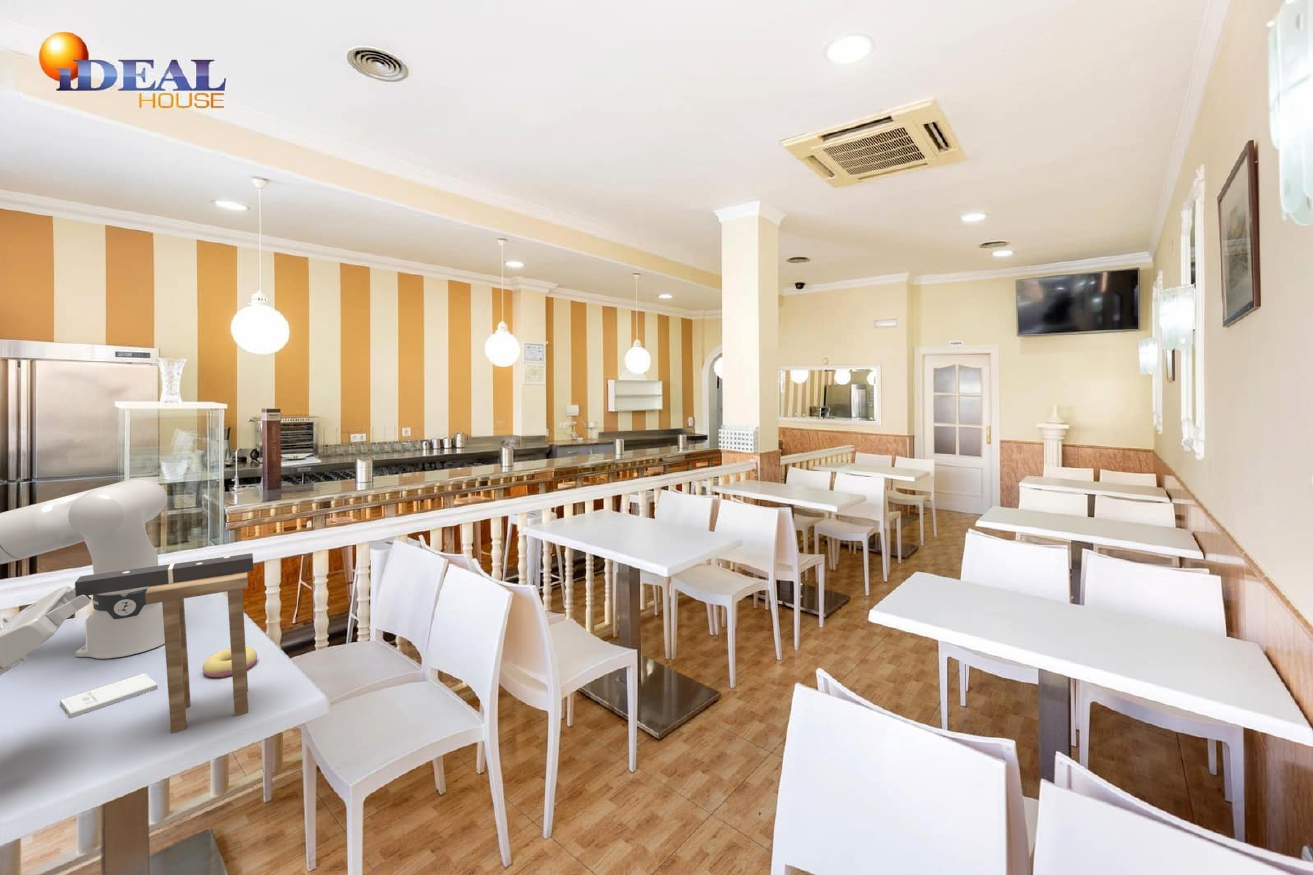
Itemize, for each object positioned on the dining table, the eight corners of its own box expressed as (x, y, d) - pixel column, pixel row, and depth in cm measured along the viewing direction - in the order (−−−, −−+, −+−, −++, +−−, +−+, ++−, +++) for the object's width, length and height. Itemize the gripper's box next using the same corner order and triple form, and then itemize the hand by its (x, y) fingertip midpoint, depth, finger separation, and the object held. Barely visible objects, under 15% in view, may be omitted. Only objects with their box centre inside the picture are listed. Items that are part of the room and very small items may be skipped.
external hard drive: (158, 691, 113) (70, 720, 103) (144, 679, 118) (60, 706, 108) (157, 683, 113) (70, 712, 103) (144, 672, 118) (59, 698, 108)
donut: (262, 666, 128) (216, 664, 126) (266, 645, 128) (220, 643, 126) (241, 681, 118) (190, 679, 116) (245, 658, 119) (195, 656, 116)
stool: (163, 707, 107) (154, 574, 105) (253, 685, 115) (247, 561, 113) (155, 739, 97) (145, 593, 95) (254, 712, 105) (247, 577, 103)
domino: (81, 590, 96) (80, 575, 96) (253, 565, 110) (252, 552, 110) (75, 597, 93) (74, 582, 93) (253, 571, 107) (252, 557, 107)
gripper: (28, 637, 98) (119, 585, 105) (-15, 687, 82) (96, 621, 88) (-1, 611, 96) (93, 560, 103) (-52, 657, 80) (64, 592, 86)
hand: (94, 589), depth 95 cm, fingers open, 8 cm apart
